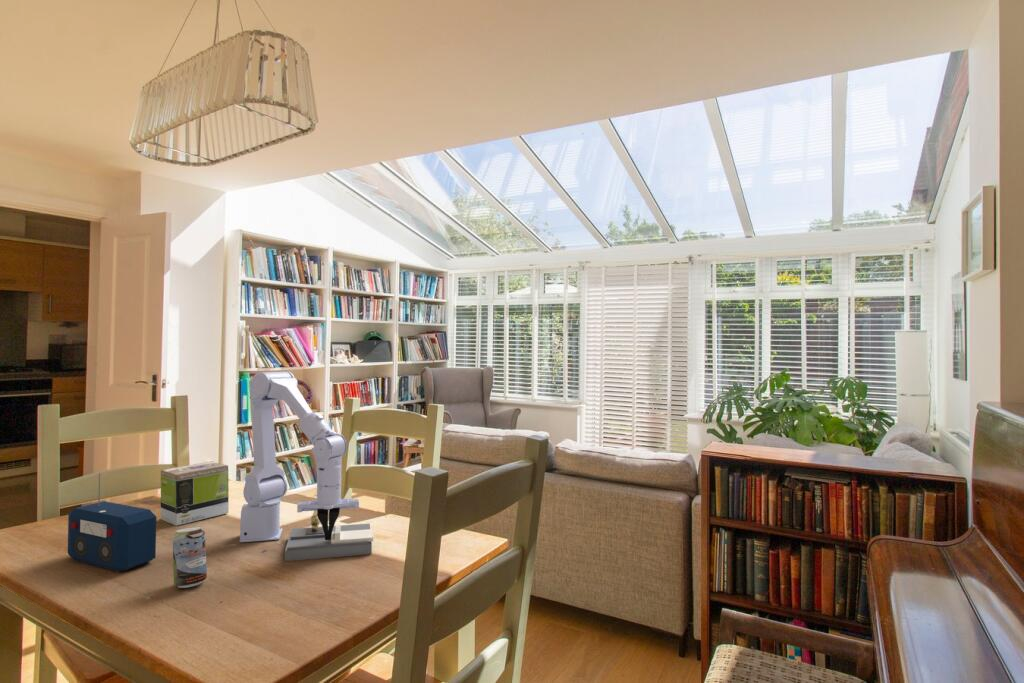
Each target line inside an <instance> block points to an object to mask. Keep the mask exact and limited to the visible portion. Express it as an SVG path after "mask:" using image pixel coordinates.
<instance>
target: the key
mask: <svg viewBox="0 0 1024 683" xmlns="http://www.w3.org/2000/svg"><path fill="white" fill-rule="evenodd" d="M310 521H311V522H310V524H311V527H312V531H318V527H319V525H320V520H319V518H318V516H317V511H313V513H312V515H311V517H310Z"/></svg>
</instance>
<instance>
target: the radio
mask: <svg viewBox="0 0 1024 683" xmlns="http://www.w3.org/2000/svg"><path fill="white" fill-rule="evenodd" d="M100 494H101V473H98V496H97V497H98V498H97V499H98V502H94V503H91V504H87V505H82V506H78V507H75V508H73V509H71V511H69V512H68V513H67V514H68V516H67V518H68V523H67V530H68V531H67V554H68V556H69V557H70V558H71V559H72V560H73V561H75V562H79V563H84V564H87V565H91V566H95V567H98V568H103V569H107V570H110V571H114V572H117V573H122V572H125V571H128V570H129V569H133V568H136V567H138V566H142V565H144V564H147V563H149V562H151V561H153V560H154V559H156V556H157V555H156V554H157V553H156V550H157V549H156V546H157V544H156V543H157V516H156V515H155V513H154V512H153V511H152V510H151V509H148V508H144V507H137V506H131V505H127V504H121V503H116V502H111V501H106V500H105V501H104V500H103V501H100V500H101V496H100Z"/></svg>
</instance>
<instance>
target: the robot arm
mask: <svg viewBox="0 0 1024 683" xmlns="http://www.w3.org/2000/svg"><path fill="white" fill-rule="evenodd" d="M248 383H249V398H250V400H249V401H250V413H251V414H250V415H251V432H252V434H251V435H252V449H253V450H252V451H253V454H252V455H253V464H254V465H253V468H251V470H250V472H248V473H247V474H246V476H245V477H244V479H245V482H244V487H243V490H242V491H243V492H242V494H243V498H244V500H245V502H246V503H244V504H243V505H242V506H241V510H240V525H239V526H240V527H239V528H240V530H239V532H240V533H239V535H240V536H239V543H250V542H262V541H263V542H264V541H265V542H267V541H278V540H280V539H281V535H282V533H283V528H282V527H280V523H281V522H280V520H281V516H280V514H281V512H280V510H281V501H283V497H284V496H286V493H288V492H287V491H288V483H287V480H286V477H285V470H284V469H283V468H281V467H280V466H278V465H277V458H276V457H277V455H276V454H277V453H276V438H275V435H276V434H275V421H274V406H275V405H276V404H277V402H279V401H280V400H281V401H283V402H284V403H285V404H286V405H287V406H288V407H289V409H290V410H291V411H292V412H293V413H294V414H295V415H296V417H297V418H298V419H299V420H300V421H299V429H300V430H301V431H302V432H303V434H304V435H305V437H306V438H307V439H308V440H309V442H310V443H311V444H312V446H313V447H312V448H311V451H312V455H313V458H314V459H315V466H316V467H317V468H316V469H317V471H316V472H317V474H316V475H317V477H316V499H315V500H310V501H303V502H301V501H299V502H297V507H296V508H297V509H296V510H297V511H296V513H303V512H314V511H317V516H318V518H319V523H320V525H321V527H323V531H324V535H325V540H331V534H332V530H333V527H334V526H335V524H336V522H337V520H338V517H339V515H340V511H341V510H347V509H350V510H351V509H354V510H358V509H360V499H359V498H357V499H356V498H354V499H353V498H352V499H351V498H342V468H343V466H342V465H343V464H342V461H343V458H342V457H343V456H344V455H345V454H346V452H347V450H348V443H347V440H346V438H345V436H344V435H343V434H341V433H337V432H336V431H333V429H332V428H331V427H330V425H329V424H328V423H327V422H326V420H325V419H324V416H323V414H320V413H319V412H313V410H312V408H310V406H309V404H308V403H307V401H306V399H305V398H304V396H303V394H302V393H301V391H300V389H299V388H298V379H297V378H295V376H294V374H293V373H292V372H291V371H289V370H284V371H269V372H267V371H266V372H263V371H258V372H256V373H255V374H254V375H253V376H252V378H251V379H250V380H249V382H248ZM328 526H329V530H328Z"/></svg>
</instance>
